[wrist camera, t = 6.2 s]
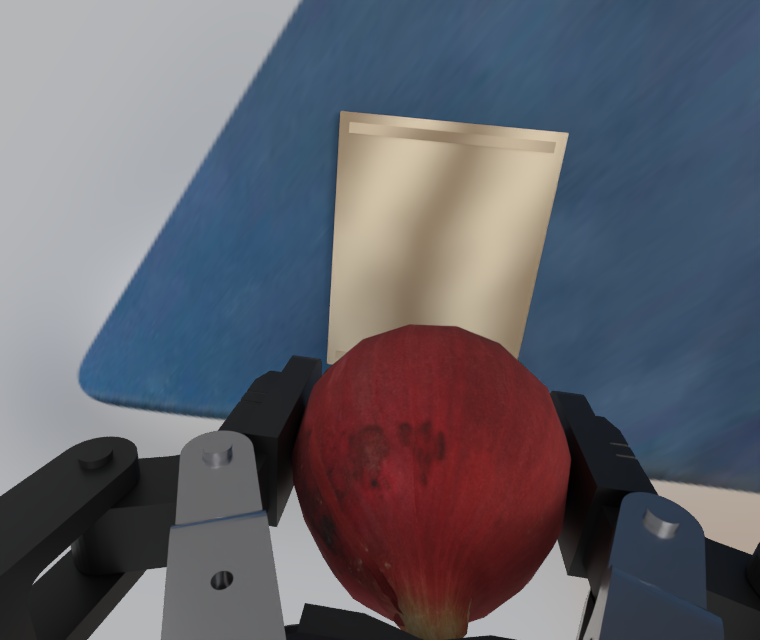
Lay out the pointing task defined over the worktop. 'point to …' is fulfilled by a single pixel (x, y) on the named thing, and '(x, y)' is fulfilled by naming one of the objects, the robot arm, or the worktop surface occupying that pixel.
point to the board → (438, 226)
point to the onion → (431, 475)
